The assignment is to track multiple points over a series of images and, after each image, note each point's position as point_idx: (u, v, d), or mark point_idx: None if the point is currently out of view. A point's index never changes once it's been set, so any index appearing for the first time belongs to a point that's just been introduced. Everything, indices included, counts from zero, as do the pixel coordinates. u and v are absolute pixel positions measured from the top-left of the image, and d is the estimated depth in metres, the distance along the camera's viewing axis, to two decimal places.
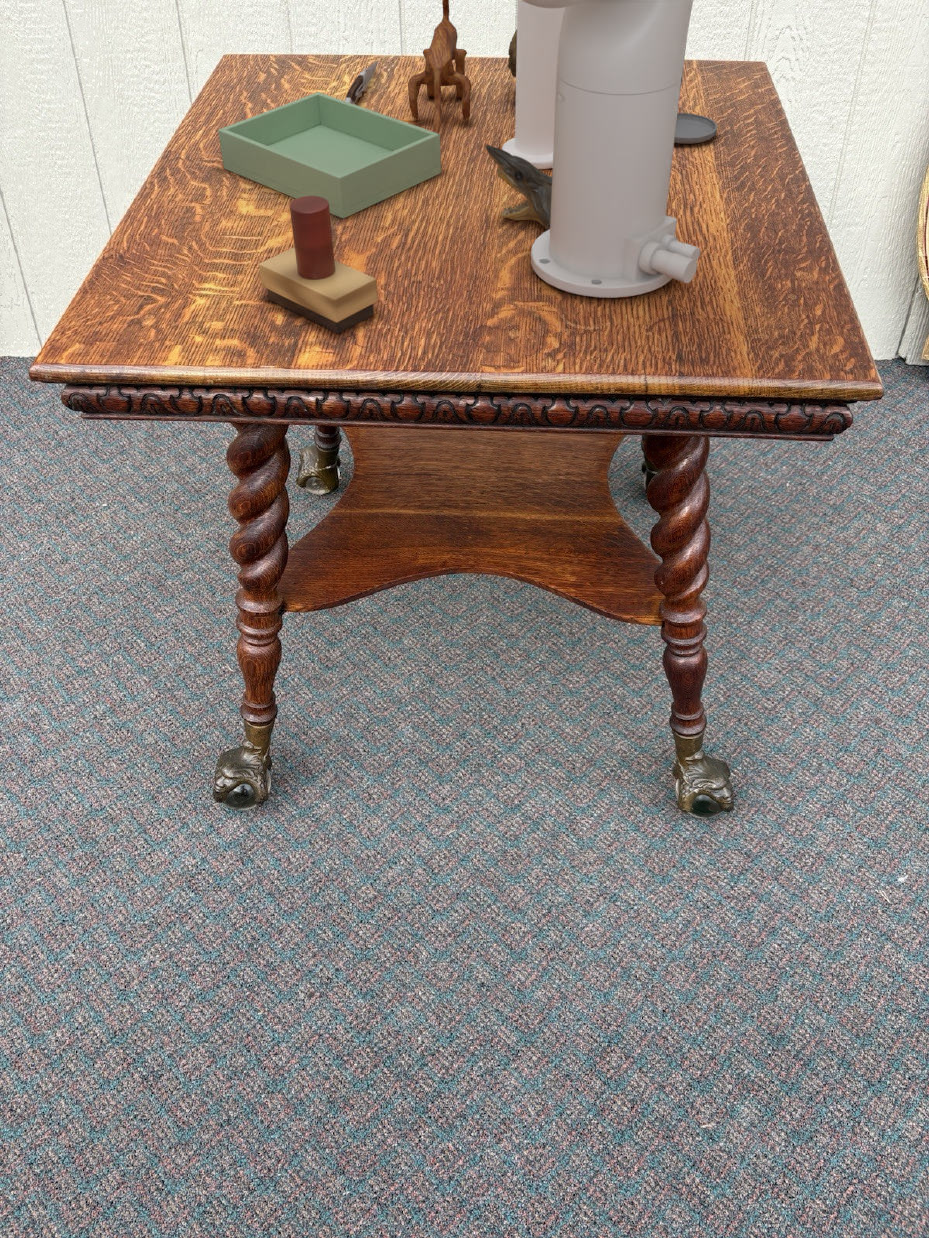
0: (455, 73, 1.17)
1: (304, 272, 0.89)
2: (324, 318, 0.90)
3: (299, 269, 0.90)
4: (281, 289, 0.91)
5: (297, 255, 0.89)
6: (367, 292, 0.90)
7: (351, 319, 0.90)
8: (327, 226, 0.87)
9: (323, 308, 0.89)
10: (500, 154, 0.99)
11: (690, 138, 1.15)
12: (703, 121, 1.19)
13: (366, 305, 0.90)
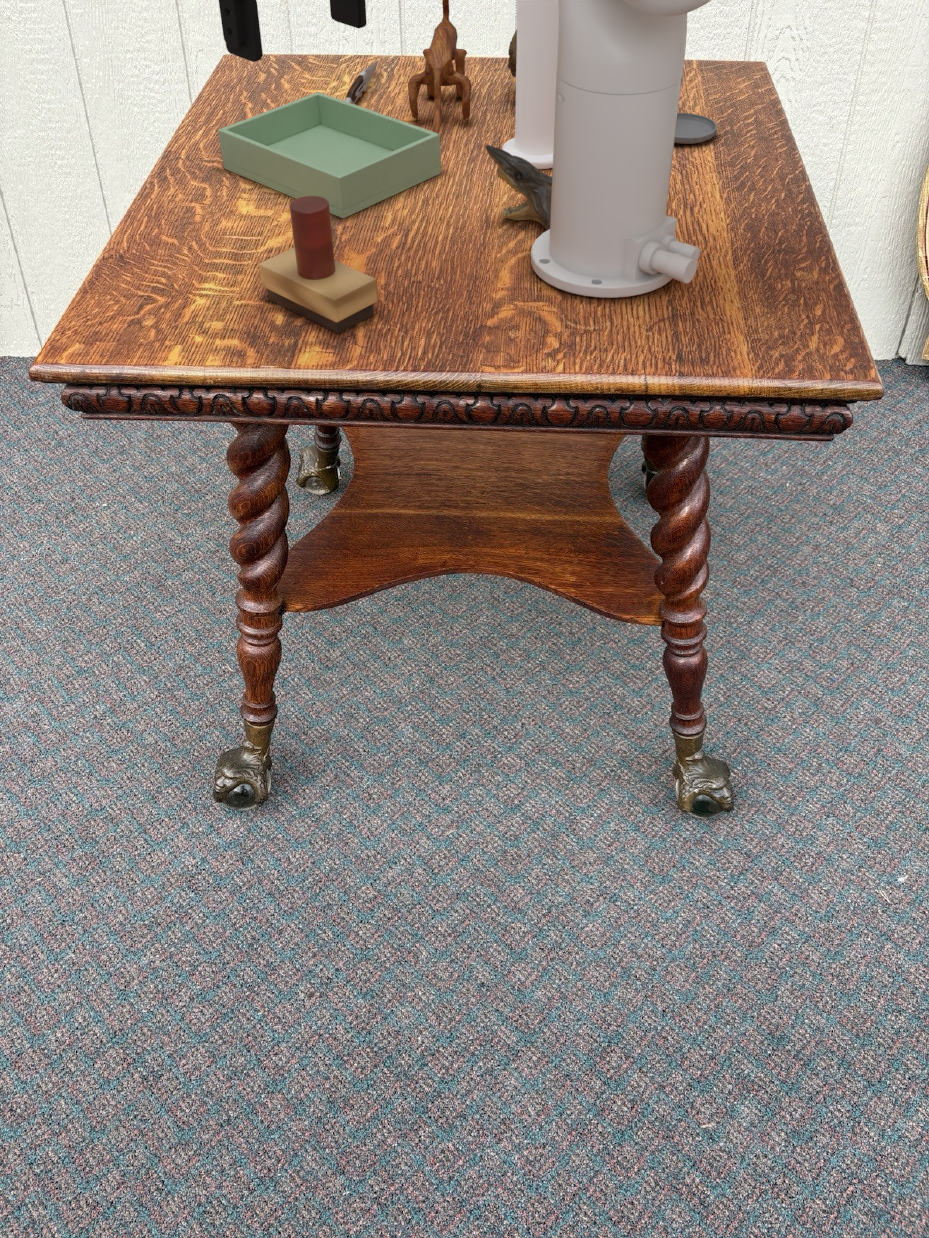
0: (455, 73, 1.17)
1: (304, 272, 0.89)
2: (324, 318, 0.90)
3: (299, 269, 0.90)
4: (281, 289, 0.91)
5: (297, 255, 0.89)
6: (367, 292, 0.90)
7: (351, 319, 0.90)
8: (327, 226, 0.87)
9: (323, 308, 0.89)
10: (500, 154, 0.99)
11: (690, 138, 1.15)
12: (703, 121, 1.19)
13: (366, 305, 0.90)
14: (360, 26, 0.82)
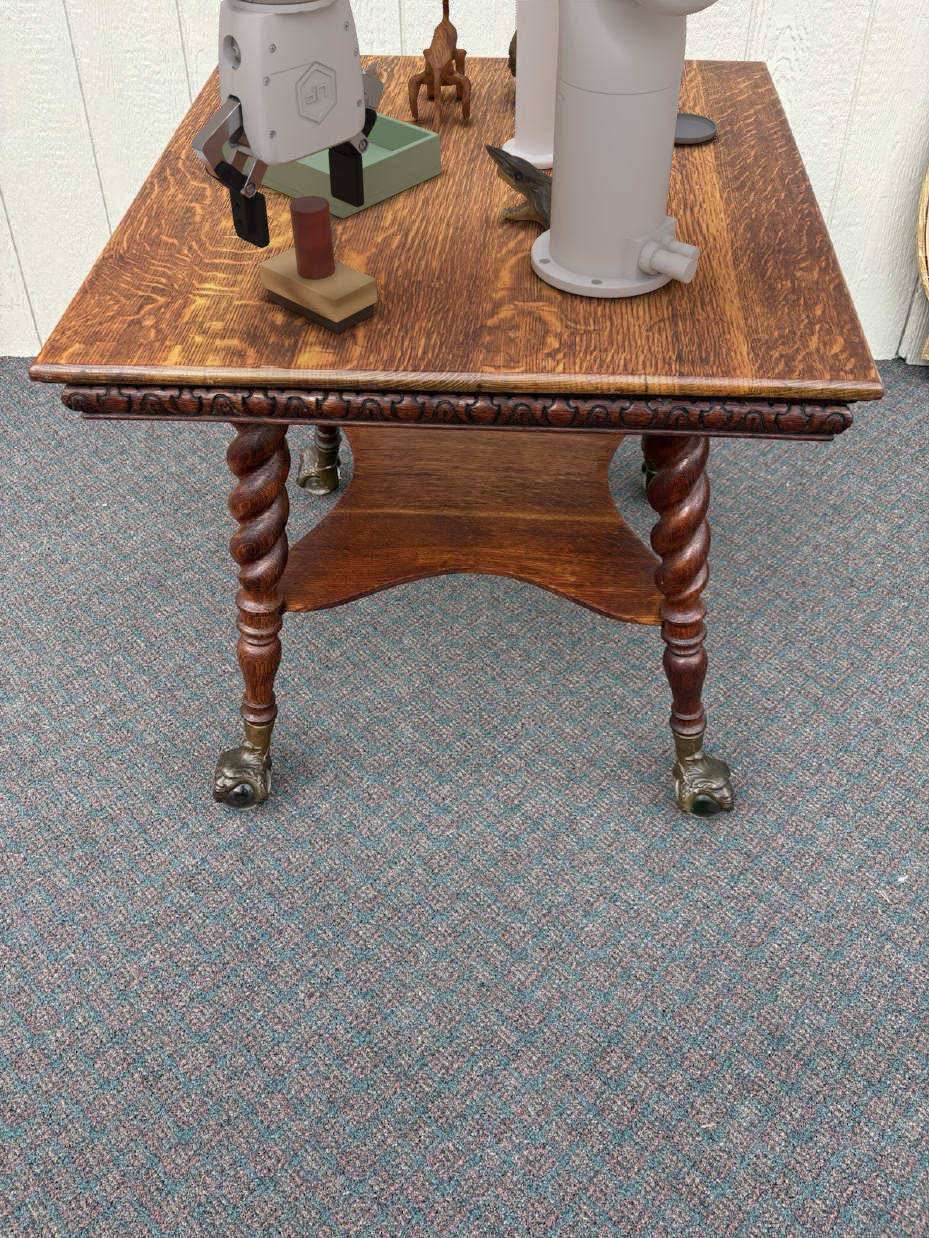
0: (455, 73, 1.17)
1: (304, 272, 0.89)
2: (324, 318, 0.90)
3: (299, 269, 0.90)
4: (281, 289, 0.91)
5: (297, 255, 0.89)
6: (367, 292, 0.90)
7: (351, 319, 0.90)
8: (327, 226, 0.87)
9: (323, 308, 0.89)
10: (500, 154, 0.99)
11: (690, 138, 1.15)
12: (703, 121, 1.19)
13: (366, 305, 0.90)
14: (358, 205, 0.89)
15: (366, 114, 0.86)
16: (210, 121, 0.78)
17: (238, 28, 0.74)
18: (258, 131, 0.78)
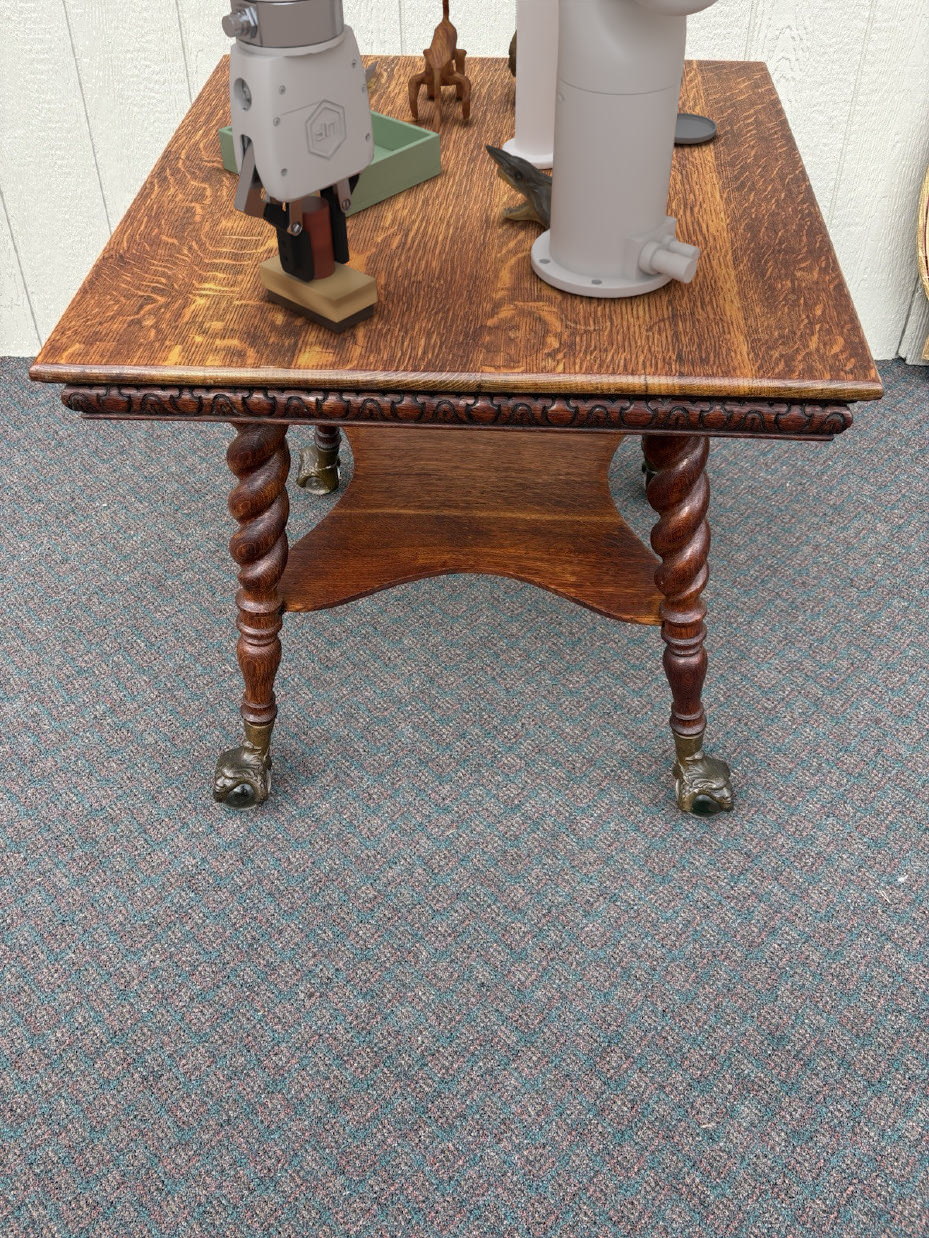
0: (455, 73, 1.17)
1: None
2: (324, 318, 0.90)
3: None
4: (281, 289, 0.91)
5: None
6: (367, 292, 0.90)
7: (351, 319, 0.90)
8: (327, 226, 0.87)
9: (323, 308, 0.89)
10: (500, 154, 0.99)
11: (690, 138, 1.15)
12: (703, 121, 1.19)
13: (366, 305, 0.90)
14: (344, 262, 0.91)
15: None
16: (240, 180, 0.82)
17: (248, 71, 0.76)
18: (270, 169, 0.80)
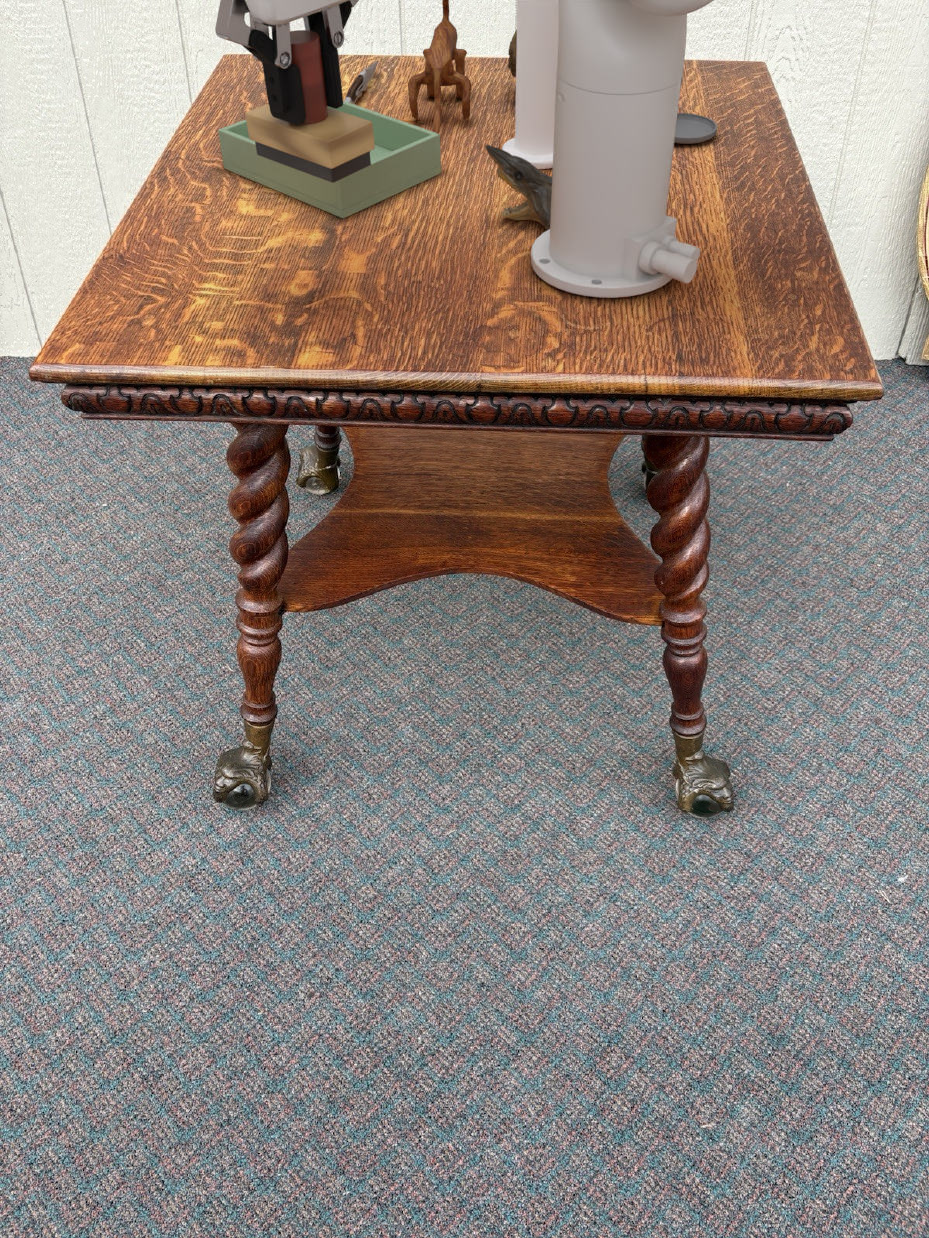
0: (455, 73, 1.17)
1: None
2: (317, 167, 0.83)
3: None
4: (271, 139, 0.84)
5: None
6: (364, 136, 0.83)
7: (347, 167, 0.83)
8: (318, 62, 0.80)
9: (316, 154, 0.82)
10: (500, 154, 0.99)
11: (690, 138, 1.15)
12: (703, 121, 1.19)
13: (363, 152, 0.83)
14: (337, 106, 0.84)
15: (340, 4, 0.81)
16: (222, 1, 0.75)
17: None
18: None
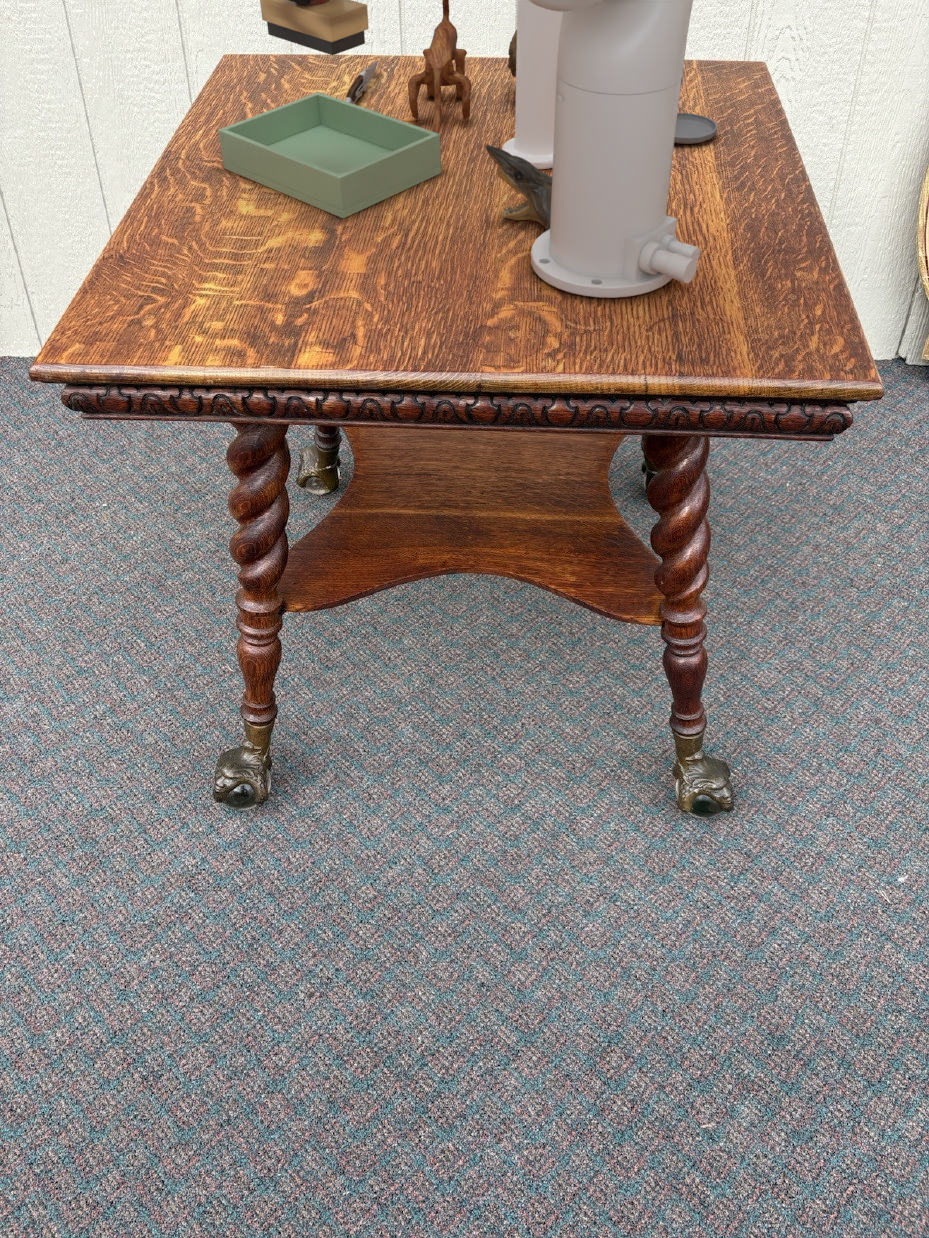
0: (455, 73, 1.17)
1: None
2: (320, 41, 0.99)
3: None
4: (281, 18, 1.00)
5: None
6: (359, 17, 0.98)
7: (344, 43, 0.99)
8: None
9: (319, 29, 0.97)
10: (500, 154, 0.99)
11: (690, 138, 1.15)
12: (703, 121, 1.19)
13: (358, 30, 0.99)
14: None
15: None
16: None
17: None
18: None
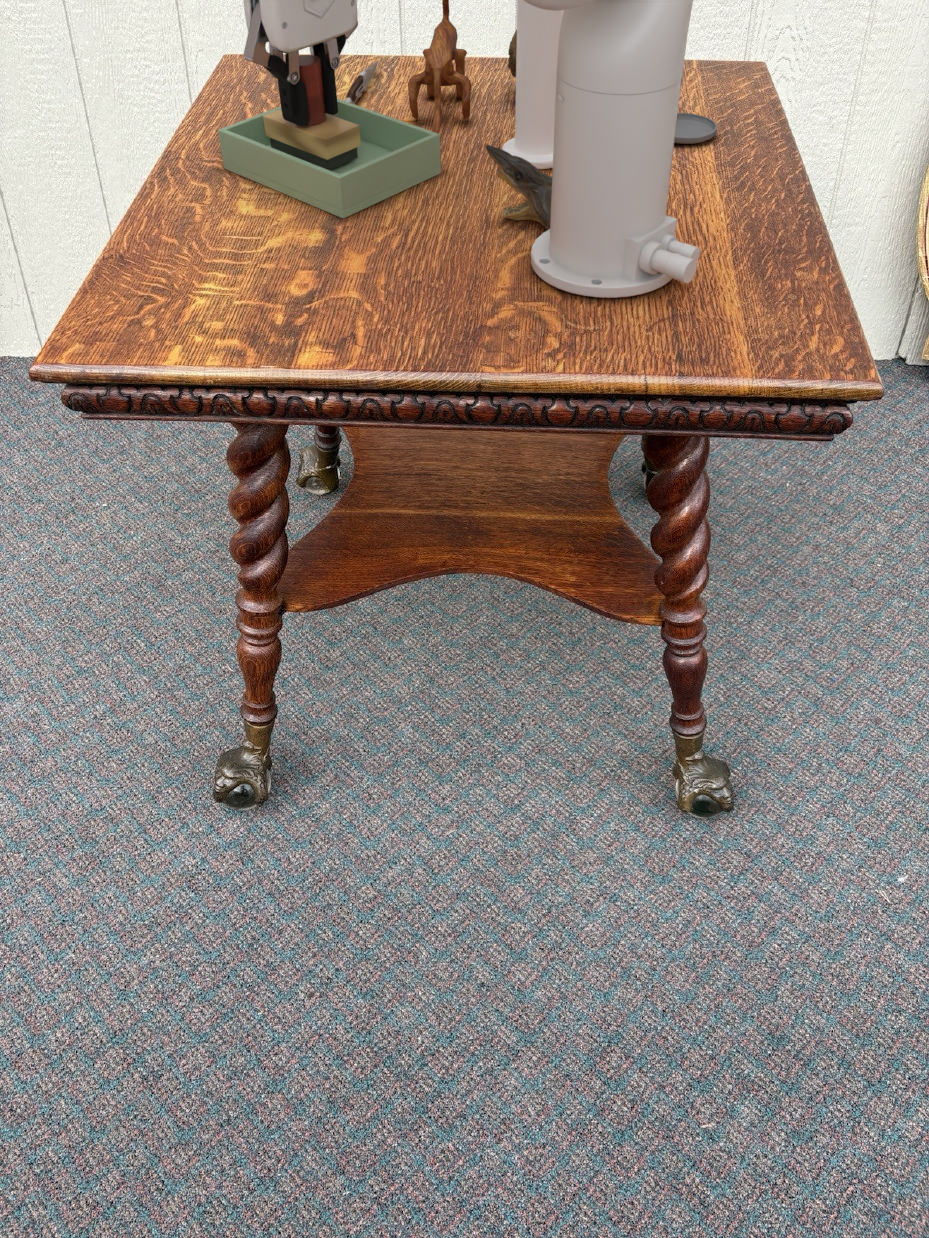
0: (455, 73, 1.17)
1: None
2: (317, 158, 1.10)
3: None
4: (282, 136, 1.11)
5: None
6: (352, 136, 1.09)
7: (339, 159, 1.10)
8: (319, 79, 1.07)
9: (316, 148, 1.09)
10: (500, 154, 0.99)
11: (690, 138, 1.15)
12: (703, 121, 1.19)
13: (351, 148, 1.10)
14: (333, 113, 1.10)
15: (337, 37, 1.07)
16: (249, 33, 1.01)
17: None
18: (273, 23, 0.99)
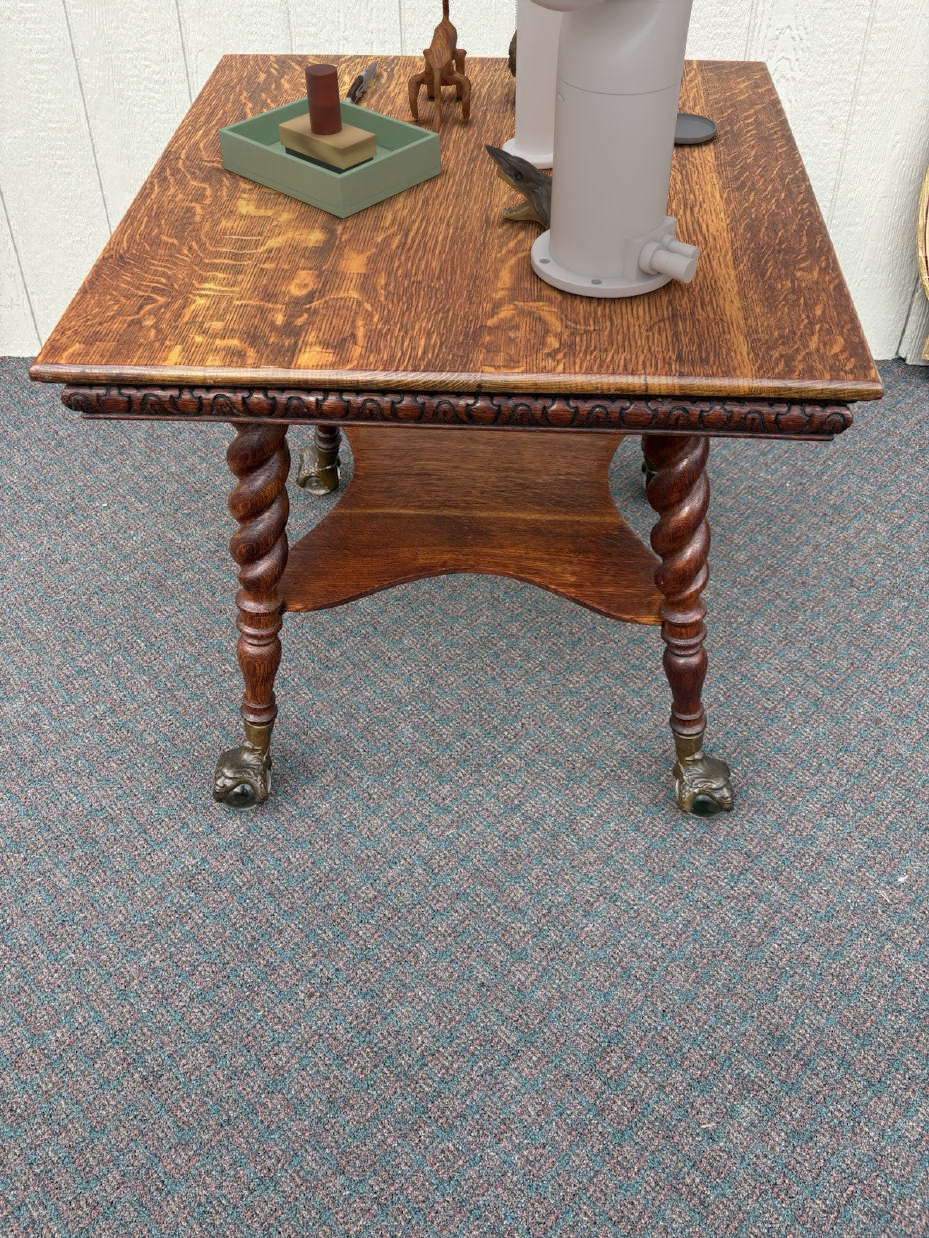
0: (455, 73, 1.17)
1: (316, 129, 1.08)
2: (333, 167, 1.09)
3: (312, 126, 1.08)
4: (297, 145, 1.10)
5: (311, 114, 1.08)
6: (369, 145, 1.08)
7: None
8: (335, 88, 1.06)
9: (332, 158, 1.08)
10: (500, 154, 0.99)
11: (690, 138, 1.15)
12: (703, 121, 1.19)
13: (367, 157, 1.09)
14: None
15: None
16: None
17: None
18: None
